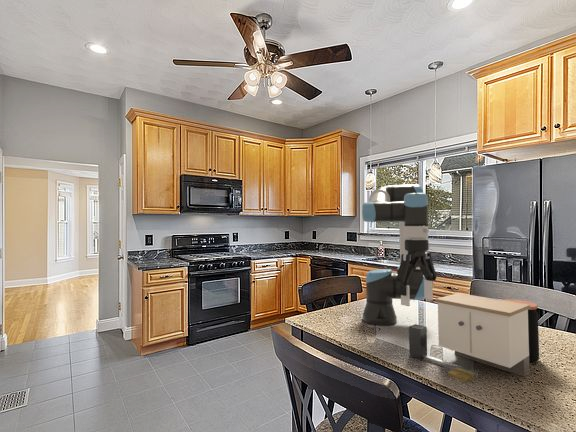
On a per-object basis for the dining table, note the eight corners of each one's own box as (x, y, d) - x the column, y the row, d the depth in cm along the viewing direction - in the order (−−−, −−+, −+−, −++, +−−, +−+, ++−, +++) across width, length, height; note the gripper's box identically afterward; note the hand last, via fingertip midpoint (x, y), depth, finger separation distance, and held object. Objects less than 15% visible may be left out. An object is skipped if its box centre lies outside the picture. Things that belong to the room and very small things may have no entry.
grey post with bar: (409, 356, 106) (408, 326, 107) (416, 353, 109) (415, 324, 109) (473, 379, 90) (472, 343, 91) (479, 375, 93) (478, 340, 93)
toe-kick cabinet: (435, 361, 102) (434, 299, 103) (459, 350, 111) (458, 293, 112) (511, 388, 85) (509, 313, 86) (532, 372, 94) (530, 304, 95)
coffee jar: (492, 352, 110) (490, 299, 110) (520, 350, 111) (519, 298, 111) (516, 365, 99) (515, 307, 100) (548, 364, 100) (546, 306, 101)
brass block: (448, 377, 92) (448, 372, 92) (456, 372, 95) (456, 367, 95) (466, 384, 88) (466, 379, 88) (474, 379, 91) (474, 374, 91)
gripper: (404, 240, 97) (405, 310, 96) (446, 238, 111) (447, 299, 111) (383, 239, 103) (384, 305, 102) (426, 237, 118) (427, 295, 117)
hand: (417, 302), depth 107 cm, fingers open, 13 cm apart
